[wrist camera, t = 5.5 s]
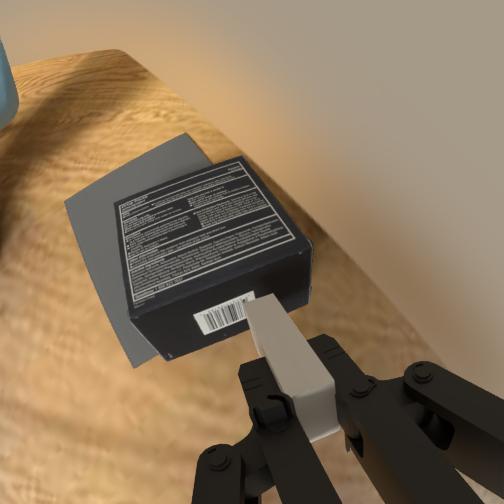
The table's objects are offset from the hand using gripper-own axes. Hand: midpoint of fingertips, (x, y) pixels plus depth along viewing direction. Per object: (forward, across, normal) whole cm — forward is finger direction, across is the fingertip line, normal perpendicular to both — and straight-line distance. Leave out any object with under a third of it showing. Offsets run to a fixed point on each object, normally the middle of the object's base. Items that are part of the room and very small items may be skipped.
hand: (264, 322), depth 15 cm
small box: (+3, -1, -1) cm, 3 cm away
